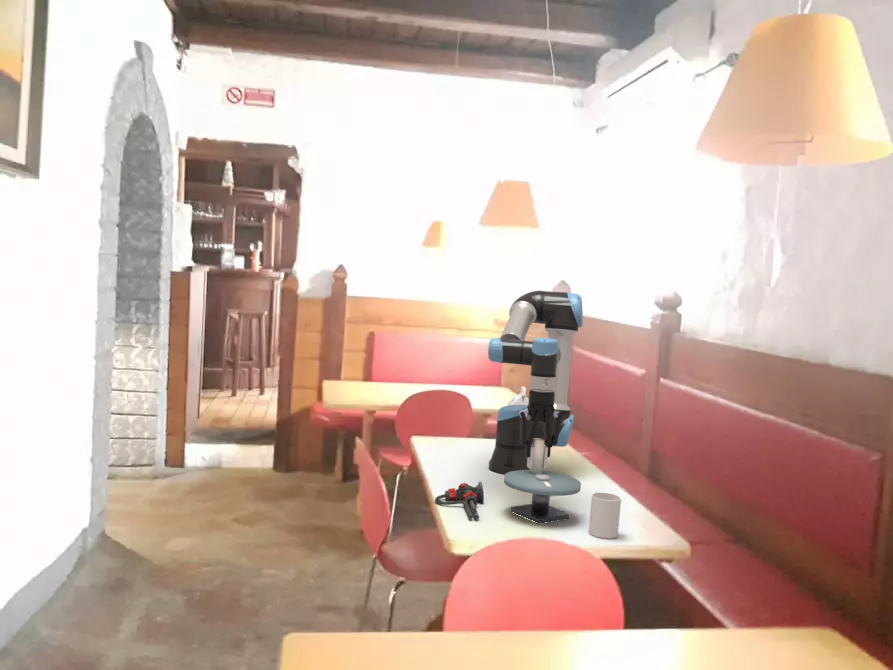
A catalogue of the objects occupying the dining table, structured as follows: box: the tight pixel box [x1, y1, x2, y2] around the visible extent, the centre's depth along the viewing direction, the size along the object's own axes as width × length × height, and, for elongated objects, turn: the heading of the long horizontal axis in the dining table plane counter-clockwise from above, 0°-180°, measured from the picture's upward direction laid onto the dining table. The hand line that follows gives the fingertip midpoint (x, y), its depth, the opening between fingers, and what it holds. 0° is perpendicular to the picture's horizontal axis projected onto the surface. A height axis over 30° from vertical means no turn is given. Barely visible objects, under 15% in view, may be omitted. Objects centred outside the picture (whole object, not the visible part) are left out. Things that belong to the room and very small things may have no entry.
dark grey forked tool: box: [434, 481, 485, 520], centre depth 227 cm, size 6×26×15 cm
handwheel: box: [503, 438, 582, 497], centre depth 223 cm, size 22×22×12 cm
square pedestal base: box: [509, 494, 570, 524], centre depth 224 cm, size 12×12×9 cm
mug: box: [588, 491, 622, 540], centre depth 213 cm, size 12×8×10 cm, turn 8°
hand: (536, 467), depth 231 cm, fingers closed on handwheel, 4 cm apart
